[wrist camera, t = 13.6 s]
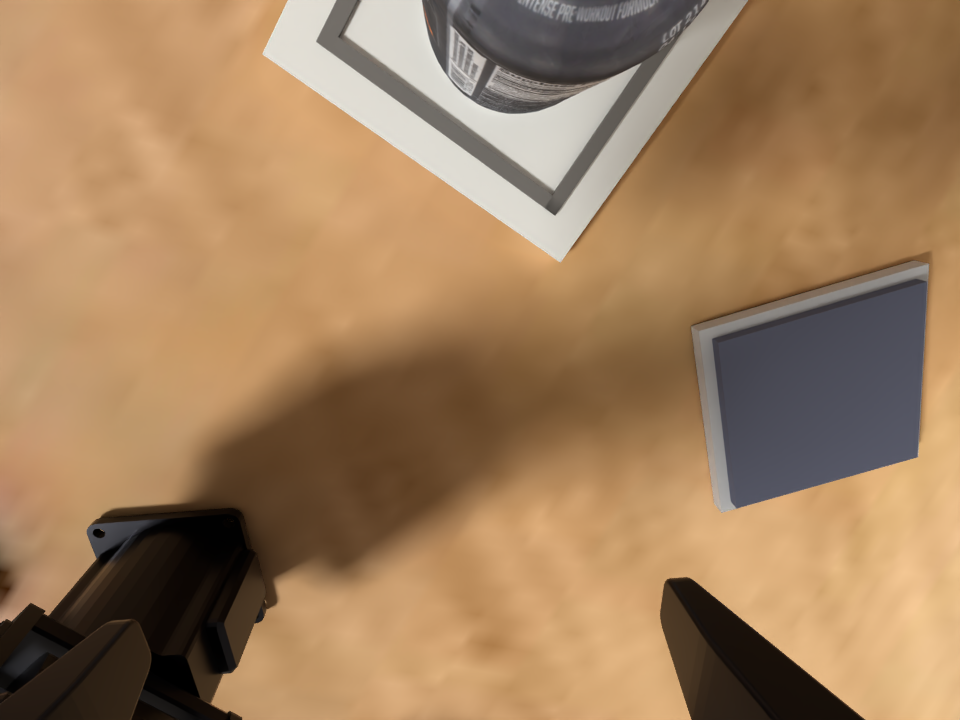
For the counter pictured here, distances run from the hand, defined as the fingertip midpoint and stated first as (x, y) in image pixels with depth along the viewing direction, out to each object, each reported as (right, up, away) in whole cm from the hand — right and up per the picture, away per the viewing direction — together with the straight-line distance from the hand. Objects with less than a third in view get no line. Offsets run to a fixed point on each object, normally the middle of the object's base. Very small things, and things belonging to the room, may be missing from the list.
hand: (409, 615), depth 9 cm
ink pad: (+16, +3, +14) cm, 22 cm away
